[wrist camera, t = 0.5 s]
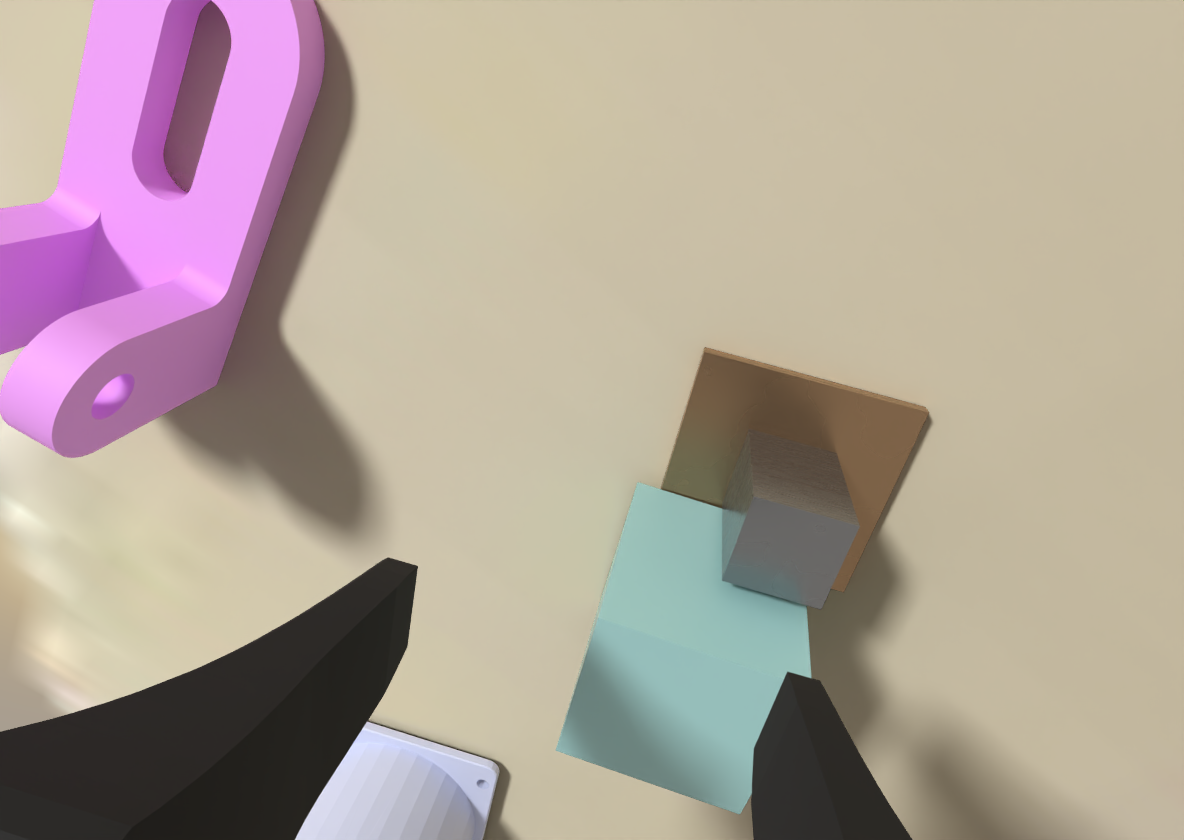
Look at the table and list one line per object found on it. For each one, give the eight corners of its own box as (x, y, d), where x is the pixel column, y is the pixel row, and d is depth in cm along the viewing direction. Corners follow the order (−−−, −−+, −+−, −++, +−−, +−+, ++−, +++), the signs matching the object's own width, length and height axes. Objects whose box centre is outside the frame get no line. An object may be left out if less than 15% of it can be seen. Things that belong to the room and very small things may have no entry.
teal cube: (745, 649, 24) (739, 814, 19) (599, 601, 25) (555, 750, 20) (801, 533, 22) (812, 688, 17) (637, 482, 22) (598, 617, 17)
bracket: (219, 383, 24) (40, 481, 18) (70, 295, 24) (-167, 363, 17) (356, -8, 19) (167, -67, 12) (165, -131, 18) (-132, -255, 12)
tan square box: (841, 584, 23) (866, 685, 19) (648, 528, 23) (632, 616, 19) (925, 406, 20) (974, 481, 16) (704, 347, 21) (699, 405, 17)
